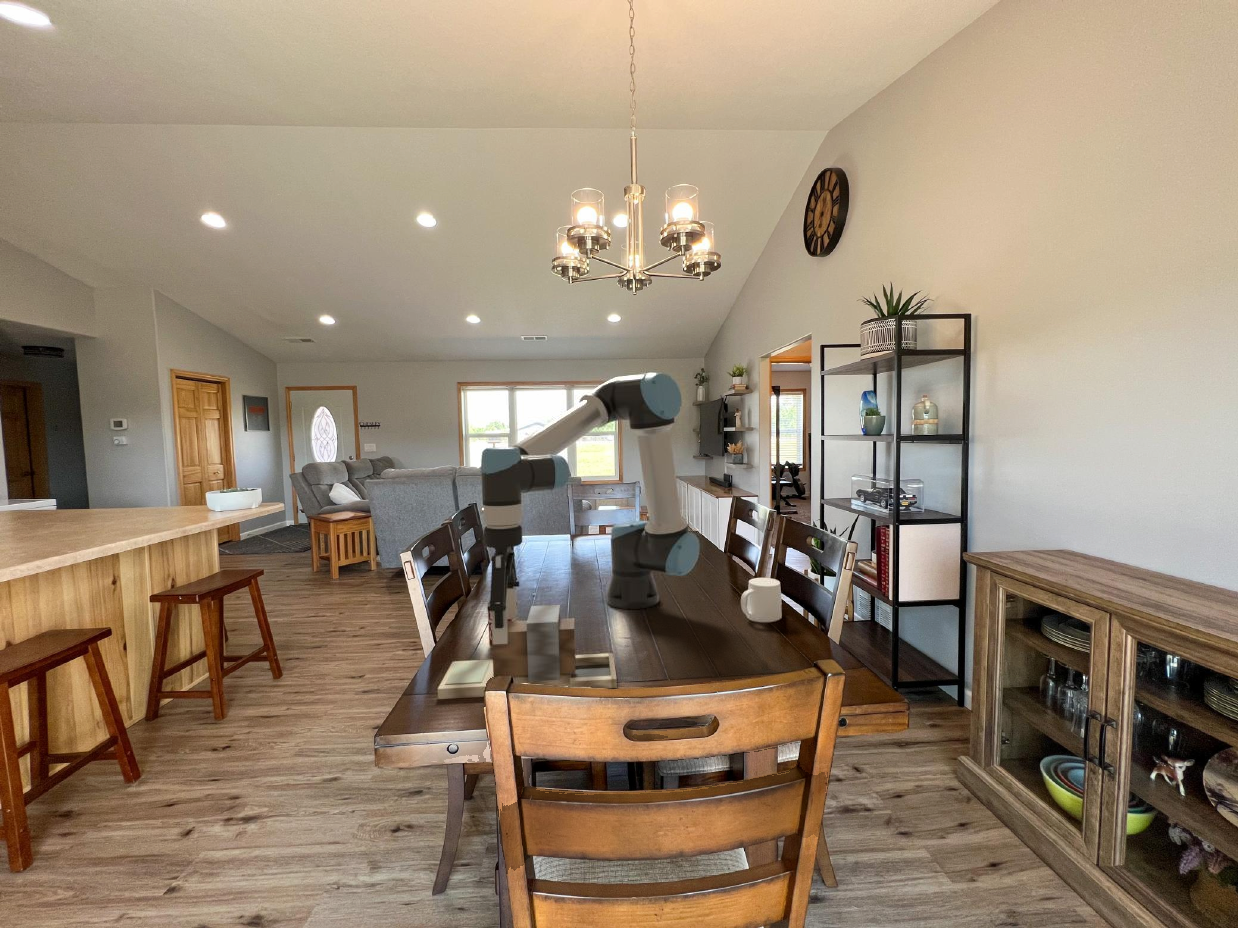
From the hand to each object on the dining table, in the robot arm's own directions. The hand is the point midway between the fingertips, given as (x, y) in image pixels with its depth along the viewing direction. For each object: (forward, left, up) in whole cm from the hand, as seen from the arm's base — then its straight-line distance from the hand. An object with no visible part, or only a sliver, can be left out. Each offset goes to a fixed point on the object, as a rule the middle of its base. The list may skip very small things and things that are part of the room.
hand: (505, 630), depth 108 cm
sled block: (-6, 0, -8) cm, 10 cm away
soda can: (+3, -18, -11) cm, 21 cm away
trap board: (-5, 0, -11) cm, 11 cm away
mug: (-62, -28, -11) cm, 69 cm away
